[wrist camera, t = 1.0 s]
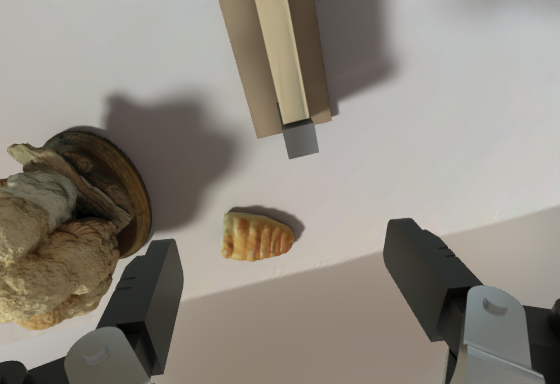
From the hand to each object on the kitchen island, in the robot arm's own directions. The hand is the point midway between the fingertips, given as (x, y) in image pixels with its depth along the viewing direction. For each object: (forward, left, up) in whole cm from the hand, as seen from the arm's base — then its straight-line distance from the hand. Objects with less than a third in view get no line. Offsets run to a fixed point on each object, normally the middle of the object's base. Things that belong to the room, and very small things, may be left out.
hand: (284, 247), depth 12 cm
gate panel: (-2, -7, -22) cm, 23 cm away
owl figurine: (+22, +6, -23) cm, 33 cm away
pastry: (+6, +15, -24) cm, 29 cm away
